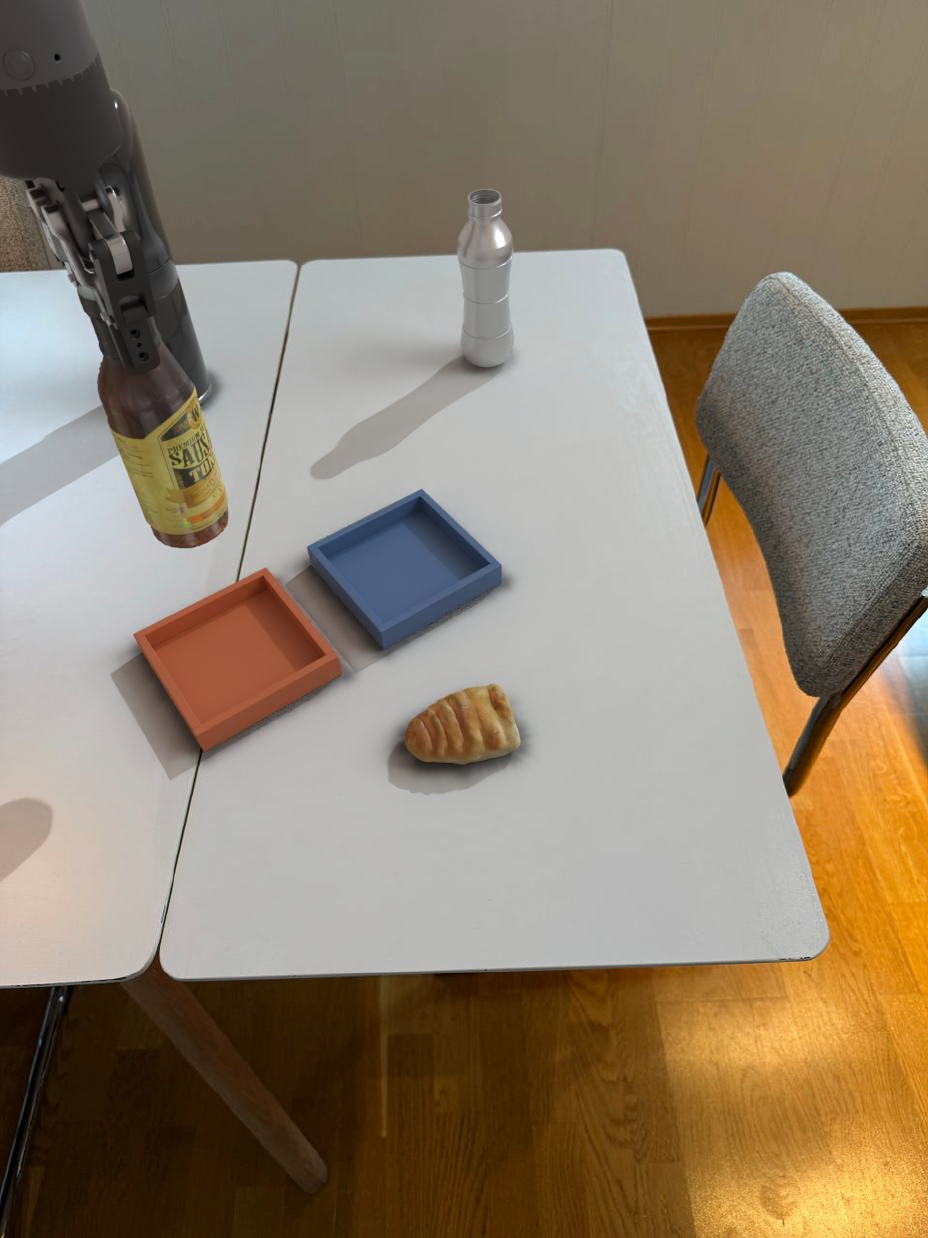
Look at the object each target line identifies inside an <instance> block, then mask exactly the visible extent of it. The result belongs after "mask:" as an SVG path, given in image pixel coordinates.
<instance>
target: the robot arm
mask: <svg viewBox="0 0 928 1238" xmlns="http://www.w3.org/2000/svg"><path fill="white" fill-rule="evenodd" d="M126 100H127V99H125V98H124V96H123V95H122V94H121V93H120V91H118V90H116V89H115V88H113V87H111V86H110V85H109V81H108V77H107V75H106V71H105V68H104V64H103V61H102V58H101V55H100V52H99V49H98V46H97V43H96V40H95V35H94V33H93V30H92V26H91V23H90V19H89V17H88V14H87V10H86V6H85V3H84V0H0V177H4V178H6V179H12V180H17V181H19V182H21V184H22V186H23V188H24V190H25V194H26V196H27V199H28V202H29V205H30V207H31V209H32V210H33V212H34V213H35V215H36V216H37V218H38V221H39V223H40V225H41V227H42V229H43V232H44V234H45V236H46V240H47V243H48V246H49V247H50V249H51V250H52V251H53V257H54V259H55V261H56V263H58V264H59V265H60V266H61V267H62V268H65V269H66V271H67V275H66V276H67V278H68V280H69V282H70V283H71V284H73V286H74V287H75V289H77V287H78V285H79V284H82V285H83V286H85V287H87V288H89V289H91V291H92V293H93V295H94V297H95V300H96V302H97V304H98V307H99V309H100V311H101V313H100V315H101V317H102V319H103V321H106V323H107V326H108V329H109V331H110V334H111V336H112V339H113V342H114V344H115V347H116V349H117V352H118V355H119V357H120V360H121V363H122V365H123V367H124V369H125V370H126V371H127V372H128V374H130V375H132V376H136V375H139V374H142V373H144V372H147V371H149V370H152V369H154V368H156V367H158V366H159V364H160V357H159V354H158V351H157V348H156V345H155V342H154V339H153V337H152V334H151V331H150V328H149V325H148V322H147V318H150V317H153V318H154V321H155V324H156V328H157V329H158V331H159V333H160V336H161V340H162V341H163V342H164V344H165V345H166V347H167V348H168V349H169V351H170V352H171V354H172V355H173V356H174V358H175V359H176V361H177V362H178V363H179V365H180V366H181V368H182V369H183V370H184V372H185V373H186V374H187V376H188V377H189V379H190V380H191V381H192V382H193V383H194V385H195V389H196V392H197V395H198V399H199V402H200V406H202V405H203V404H204V403H205V401H207V399H208V398H209V397H210V396H211V394H212V391H213V384H212V380H211V377H210V374H209V373H208V370H207V367H206V363H205V360H204V356H203V352H202V350H201V345H200V343H199V339H198V336H197V333H196V330H195V326H194V323H193V320H192V317H191V313H190V310H189V306H188V303H187V300H186V296H185V293H184V290H183V287H182V284H181V283H182V282H181V280H180V276H179V274H178V270H177V267H176V264H175V261H174V257H173V254H172V250H171V247H170V244H169V241H168V238H167V234H166V231H165V228H164V224H163V221H162V218H161V215H160V212H159V208H158V205H157V201H156V198H155V195H154V190H153V186H152V183H151V179H150V175H149V172H148V166H147V163H146V159H145V154H144V149H143V145H142V141H141V138H140V134H139V131H138V127H137V122H136V120H135V118H134V115H133V112H132V110H131V108H130V105H129V104H128V101H126ZM119 198H120V201H119Z"/></svg>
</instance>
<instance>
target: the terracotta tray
mask: <svg viewBox="0 0 928 1238" xmlns="http://www.w3.org/2000/svg"><path fill="white" fill-rule="evenodd" d="M296 603H297V602H295V601H294V600H293V598H292V597H291V596H290V595H289V593H288V592H287V591H286V590H285V588H284V587H283V586H282V585H281V583H280V582H279V581H278V580H277V578H276V576H274V575H273V573H272V572H271V571H270V570H269V568H268V567H266V566H265V567H263V568H262V569H259V570H258V571H255V572H253V573H251V574H249V575H247V576H245V577H243V578H241V579H240V580H237V581H236V582H234V583H231V584H230V585H227V586H225V587H223V588H221V589H220V590H218V591H216V592H214V593H212V594H210V595H208V596H206V597H204V598H202V599H200V600H197V601H195V602H194V603H192V604H190V605H188V606H186V607H184V608H182V609H180V610H178V611H176V612H174V613H172V614H170V615H168V616H166V617H164V618H162V619H160V620H158V621H156V622H154V623H152V624H150V625H149V626H148V625H147V626H146V627H144V628H142V629H140V630H138V631H136V632H134V633H133V634H132V635H133V637H134V640H135V642H136V644H137V645H138V647H139V650H140V651H141V653H142V655H143V656H144V658H145V659H146V661H147V663H148V664H149V666H150V668H151V669H152V670H153V672H154V674H155V676H156V677H157V679H158V681H159V682H160V683H161V686H162V687H163V689H164V690H165V692H166V693H167V694H168V697H169V698H170V700H171V702H172V703H173V705H174V706H175V708H176V710H177V712H178V713H179V714H180V716H181V717H182V719H183V721H184V722H185V723H186V724H185V725H186V726H187V728H188V729H189V730H190V732H191V733H192V735H193V737H194V738H195V740H196V742H197V743H198V745H199V746H200V748H201V750H202V751H203V752H204V753H205V752H208V751H209V750H211V749H213V748H214V747H216V746H218V745H220V744H222V743H223V742H225V741H226V740H229V739H230V738H232V737H235V735H237V734H239V733H241V732H242V731H244V730H246V729H248V728H250V727H251V726H253V725H255V724H256V723H258V722H260V721H262V720H264V719H265V718H267V717H269V716H271V715H272V714H274V713H275V712H278V711H279V710H281V709H283V708H284V707H285V708H286V706H288V705H290V704H292V703H293V702H295V701H297V700H299V699H301V698H302V697H304V696H305V695H307V694H309V693H311V692H312V691H315V690H316V689H318V688H320V687H321V686H323V685H325V684H327V683H328V682H330V681H332V680H334V679H336V678H337V677H339V676H340V675H342V674H343V672H342V666H341V662H340V658H339V656H338V654H337V652H335V651H334V649H333V648H332V647H331V645H330V644H329V643H328V642H327V640H326V639H325V638H324V637H323V635H322V634H321V632H319V631H318V630H317V627H315V626H314V624H313V623H312V622H311V621H310V619H309V618H308V617H307V616H306V614H305V613H304V612H303V610H301V608H300V607H299V605H298V604H296Z"/></svg>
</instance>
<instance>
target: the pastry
mask: <svg viewBox="0 0 928 1238" xmlns="http://www.w3.org/2000/svg"><path fill="white" fill-rule="evenodd" d="M521 741H522V740H521V735H520V731H519V728H518V726H517V724H516V720H515V717H514V712H513V710H512V706H511V703H510V700H509V697H508V695H507V694H506V692H505V690H504V689H503V688H502V687H501V685H499V684H495V683H490V684H489V685H483V686H471V687H467V688H464V689H463V690H460V691H455V692H453V693H449V694H448V695H446V696H444V697H442V698H440V699H438V700H437V701H436V702H434V703H433V704H431V705H429V706H428V707H427V708H426V709H424V711H422V712H420V713H418V714H417V715H416V716H414V717H413V718H412V719H411V720H410V721H409V723H408V726H407V727H406V729H405V734H404V743H405V747H406V750H407V751H408V752H409V753H410V754H411V755H412V756H414V757H415V758H416V759H418V760H419V761H422V762H424V763H437V764H442V763H446V764H451V763H452V764H455V765H464V766H465V765H467V764H471V763H477V762H483V761H487V760H490V759H494V758H495V759H496V758H502V757H505V756H506V755H508V754H510V753H513V752H514V751H516V750H518V749H519V748H520V746H521V744H522V743H521Z"/></svg>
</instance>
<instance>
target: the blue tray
mask: <svg viewBox="0 0 928 1238" xmlns="http://www.w3.org/2000/svg"><path fill="white" fill-rule="evenodd" d="M306 550H307V554H308V557H309V563H310V565H311V567H312V568H313V569H314V570H315V571H316V572H317V573H318V575H319V576H320V577H321V578H322V579H323V580H324V582H325V583H326V584H327V585H328V586H329V587H330V589H331V590H332V592H334V593H335V595H336V596H337V597H338V598H339V600H340V601H341V602H342V603H343V604H344V605H345V606H346V608H347V609H348V610H349V611H350V612H351V613H352V615H353V617H355V618H356V619H357V620H358V622H359V623H360V624H361V625H362V627H364V629H365V630H366V631H367V632H368V633H369V634H370V636H371V637H372V638H373V639H374V641H376V643H377V644H378V645H379V647H381V648H382V650H383V651H384V650H387V649H388V648H390V647H392V646H394V645H395V644H397V643H399V642H400V641H402V640H404V639H406V638H407V637H409V636H411V635H413V634H414V633H417V632H419V631H420V630H422V629H423V628H425V627H427V626H428V625H430V624H432V623H434V622H436V621H437V620H439V619H441V618H443V617H444V616H446V615H448V614H450V613H451V612H454V611H455V610H457V609H458V608H461V607H462V606H464V605H465V604H467V603H469V602H471V601H473V600H474V599H476V598H479V596H481V595H483V594H486V593H487V592H488V591H490V590H492V589H493V588H495V587H497V586H499V585H501V584H502V583H503V577H502V576H503V573H502V571H503V570H502V569H503V568H502V567H503V565H502V563H500V562H499V560H497V559H496V558H495V557H494V555H492V554H491V553H490V552H489V551H488V550H487V549H486V548H485V547H484V546H483V545H481V543H480V542H479V541H477V540H476V539H475V538H474V537H473V536H472V535H471V534H470V533H469V531H467V530H466V528H464V527H463V526H461V524H460V523H458V522H457V520H455V519H454V517H453V516H451V515H450V514H449V513H448V512H447V511H446V509H444V508H443V507H441V505H440V504H439V503H437V501H436V500H435V499H433V498H432V497H431V496H430V495H429V494H428V493H427V491H425V490H424V489H423V488H420V489H418V490H416V491H414V492H412V493H410V494H408V495H406V496H404V497H403V498H400V499H398V500H396V501H394V502H392V503H390V504H389V505H386V506H385V507H382V508H380V509H378V510H377V511H374V512H373V513H371V514H368V515H367V516H364V517H362V518H361V519H359V520H356V521H354V522H353V523H351V524H348V525H347V526H345V527H343V528H341V529H339V530H337V531H334V532H332V533H331V534H329V535H326V536H324V537H323V538H321V539H319V540H317V541H315V542H313V543H311V544H309V545H307V546H306Z"/></svg>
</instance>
